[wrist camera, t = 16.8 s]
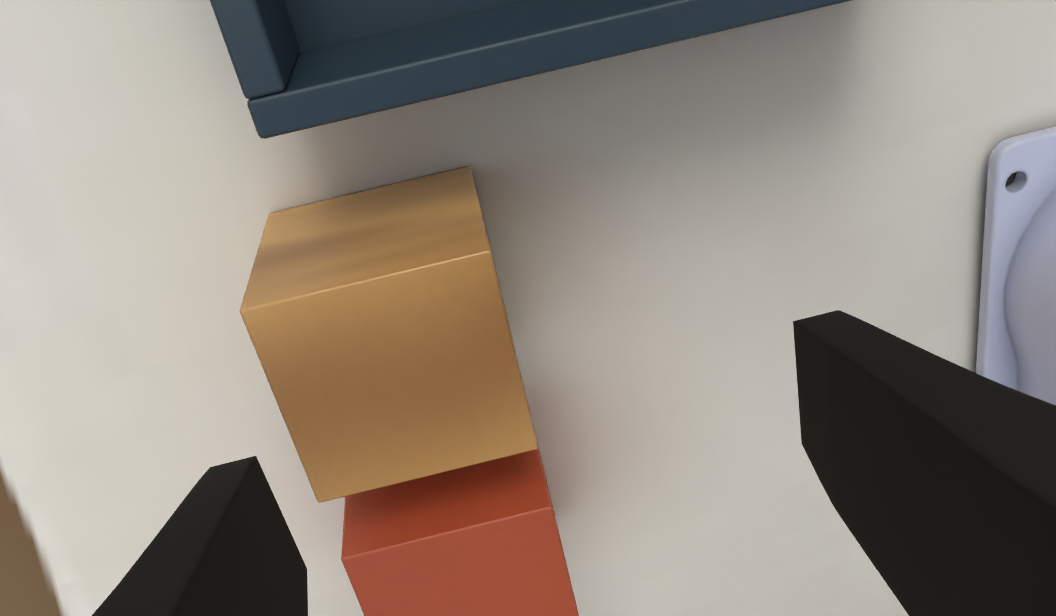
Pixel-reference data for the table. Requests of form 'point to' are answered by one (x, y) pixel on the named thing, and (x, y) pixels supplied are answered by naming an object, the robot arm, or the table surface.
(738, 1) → the bin
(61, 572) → the table surface
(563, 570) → the terracotta block
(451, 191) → the maple block
